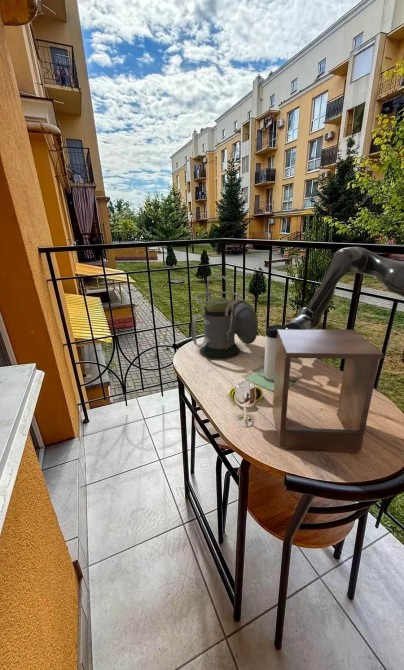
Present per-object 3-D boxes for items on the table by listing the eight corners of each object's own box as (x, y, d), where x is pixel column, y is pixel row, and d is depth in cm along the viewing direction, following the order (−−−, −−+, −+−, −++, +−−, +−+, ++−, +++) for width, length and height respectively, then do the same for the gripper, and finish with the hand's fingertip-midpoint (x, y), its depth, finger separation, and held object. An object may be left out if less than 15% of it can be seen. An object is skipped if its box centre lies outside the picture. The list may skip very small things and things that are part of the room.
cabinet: (272, 412, 83) (277, 329, 74) (341, 414, 81) (354, 329, 72) (279, 449, 69) (286, 352, 60) (363, 454, 67) (383, 354, 58)
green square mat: (267, 366, 111) (267, 365, 111) (300, 378, 101) (300, 377, 101) (245, 379, 102) (245, 378, 102) (278, 394, 92) (278, 393, 92)
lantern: (265, 354, 122) (268, 273, 110) (204, 368, 112) (201, 280, 100) (236, 336, 143) (237, 267, 131) (183, 347, 133) (178, 272, 121)
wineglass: (241, 431, 76) (242, 393, 72) (231, 419, 81) (231, 382, 77) (259, 424, 78) (260, 387, 74) (248, 413, 83) (248, 378, 79)
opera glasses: (256, 395, 94) (255, 381, 93) (263, 401, 89) (262, 386, 88) (229, 401, 91) (227, 386, 90) (235, 407, 86) (233, 391, 85)
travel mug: (280, 384, 98) (284, 330, 91) (261, 380, 100) (264, 327, 93) (284, 375, 103) (287, 324, 96) (266, 372, 106) (268, 322, 99)
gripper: (279, 317, 116) (262, 328, 104) (315, 322, 108) (301, 335, 96) (278, 334, 119) (262, 346, 107) (313, 340, 111) (299, 354, 99)
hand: (280, 341), depth 101 cm, fingers open, 8 cm apart
